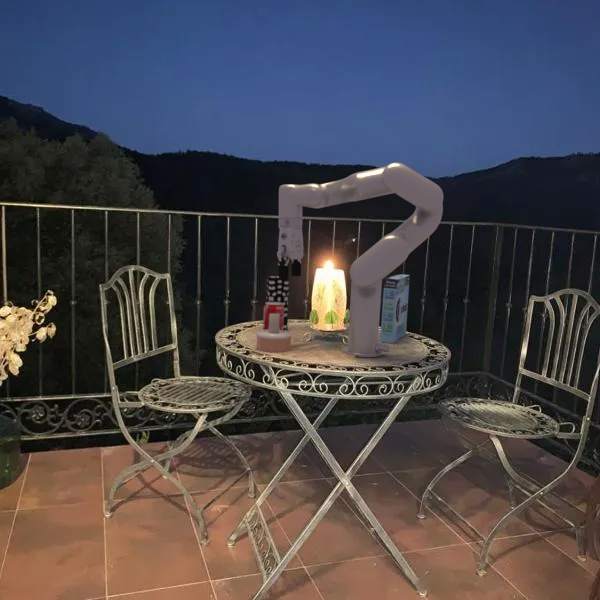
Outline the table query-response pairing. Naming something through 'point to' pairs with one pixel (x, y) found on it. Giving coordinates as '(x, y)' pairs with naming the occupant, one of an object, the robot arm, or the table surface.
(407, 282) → the gum box
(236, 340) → the table surface
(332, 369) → the table surface
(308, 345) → the mat
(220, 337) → the table surface
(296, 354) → the table surface
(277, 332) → the lid
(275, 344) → the bowl
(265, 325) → the soda can
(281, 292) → the spotted tube
